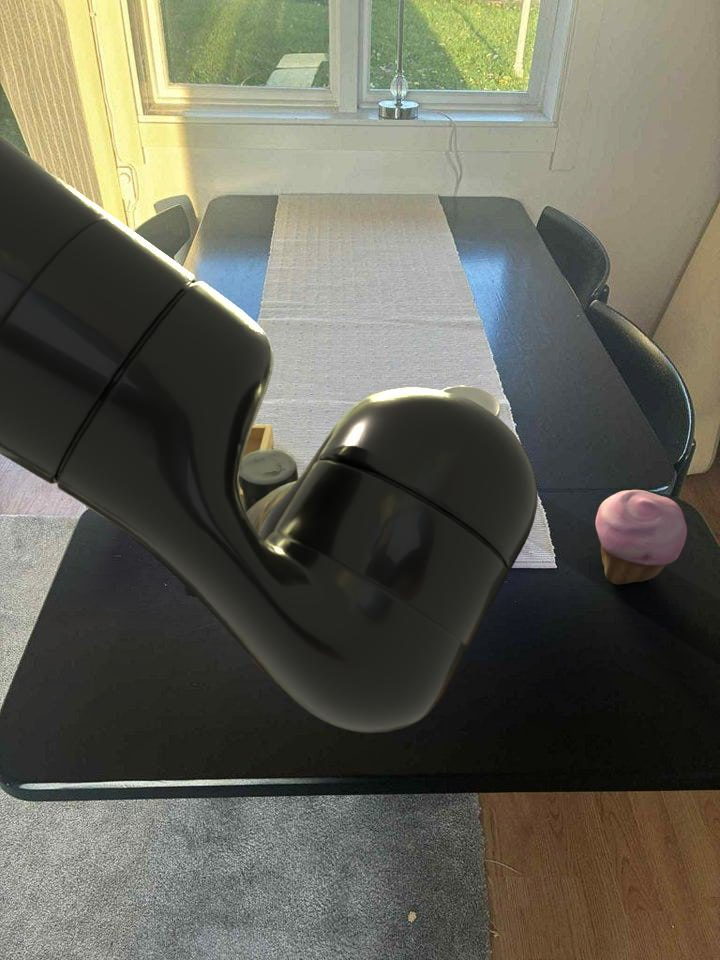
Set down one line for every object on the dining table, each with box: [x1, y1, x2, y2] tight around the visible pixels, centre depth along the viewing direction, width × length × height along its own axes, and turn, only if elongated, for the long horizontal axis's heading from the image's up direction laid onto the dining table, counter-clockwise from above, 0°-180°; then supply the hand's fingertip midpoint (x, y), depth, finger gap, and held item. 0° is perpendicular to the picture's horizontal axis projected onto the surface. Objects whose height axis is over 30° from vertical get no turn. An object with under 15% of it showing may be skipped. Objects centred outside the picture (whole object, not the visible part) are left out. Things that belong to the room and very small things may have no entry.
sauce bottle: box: [239, 448, 299, 674], centre depth 53 cm, size 6×6×20 cm
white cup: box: [441, 385, 502, 419], centre depth 85 cm, size 8×8×10 cm
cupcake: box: [595, 489, 688, 585], centre depth 72 cm, size 9×9×10 cm
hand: (272, 550), depth 54 cm, fingers closed on sauce bottle, 6 cm apart
